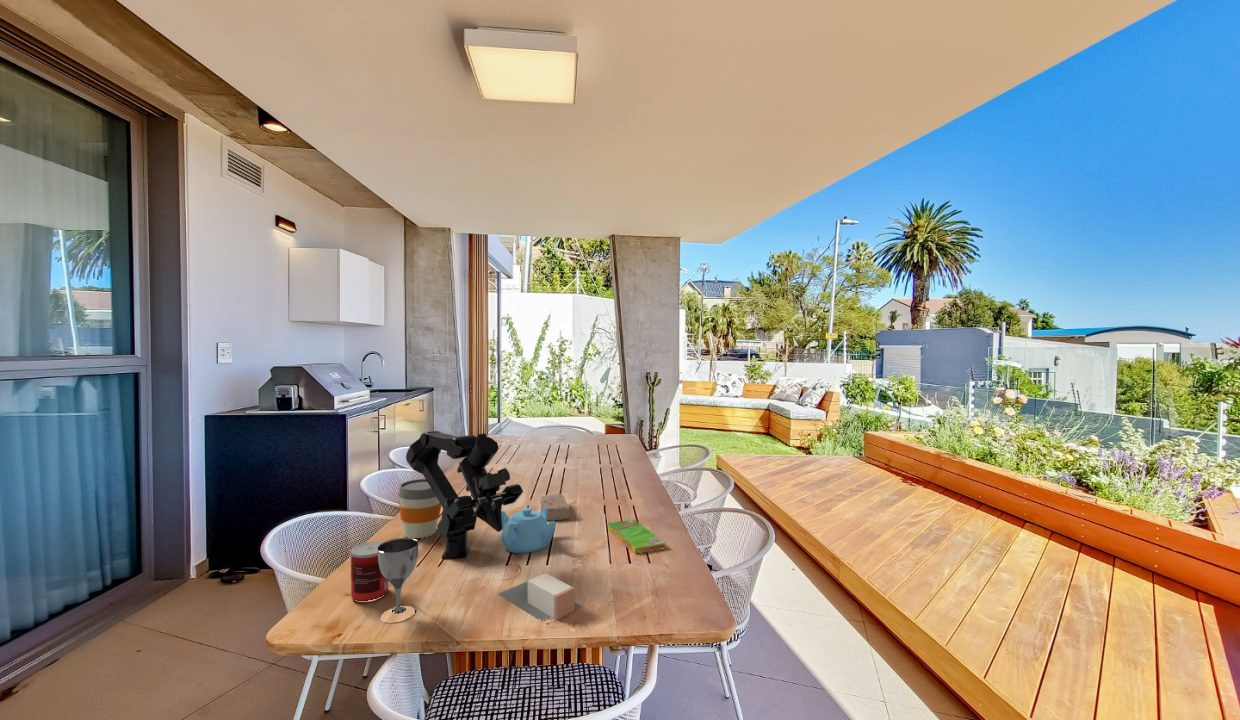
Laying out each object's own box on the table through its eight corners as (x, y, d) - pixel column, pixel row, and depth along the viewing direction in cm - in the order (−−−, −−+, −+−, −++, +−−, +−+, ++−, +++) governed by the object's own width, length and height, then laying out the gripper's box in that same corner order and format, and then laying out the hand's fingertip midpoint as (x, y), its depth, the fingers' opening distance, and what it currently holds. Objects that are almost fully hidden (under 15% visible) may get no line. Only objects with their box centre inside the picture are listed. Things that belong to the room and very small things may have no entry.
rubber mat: (497, 596, 113) (497, 593, 113) (533, 581, 120) (533, 579, 120) (547, 627, 101) (547, 624, 100) (583, 609, 108) (583, 606, 108)
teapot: (497, 538, 147) (497, 502, 146) (547, 533, 151) (547, 498, 151) (501, 559, 132) (501, 520, 132) (556, 553, 137) (556, 515, 136)
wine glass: (423, 604, 109) (423, 537, 109) (409, 624, 101) (409, 552, 101) (387, 604, 109) (387, 537, 108) (370, 624, 101) (370, 552, 100)
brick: (539, 506, 176) (539, 493, 176) (562, 504, 179) (562, 492, 179) (544, 523, 161) (545, 509, 160) (570, 521, 163) (570, 507, 163)
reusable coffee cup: (450, 528, 154) (451, 481, 154) (424, 543, 142) (426, 492, 141) (415, 523, 157) (416, 477, 157) (387, 537, 145) (389, 487, 145)
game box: (634, 558, 136) (606, 529, 155) (665, 553, 140) (633, 525, 159) (634, 547, 136) (606, 520, 155) (665, 542, 140) (634, 516, 159)
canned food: (378, 583, 118) (378, 538, 118) (394, 594, 113) (394, 547, 113) (345, 595, 112) (344, 548, 112) (360, 607, 107) (360, 558, 107)
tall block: (527, 580, 109) (556, 596, 102) (545, 573, 113) (574, 588, 106) (527, 602, 109) (556, 620, 102) (545, 594, 113) (574, 610, 106)
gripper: (454, 465, 117) (478, 524, 110) (519, 453, 130) (545, 504, 123) (438, 491, 122) (460, 547, 115) (502, 476, 136) (525, 527, 129)
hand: (500, 530), depth 121 cm, fingers closed
